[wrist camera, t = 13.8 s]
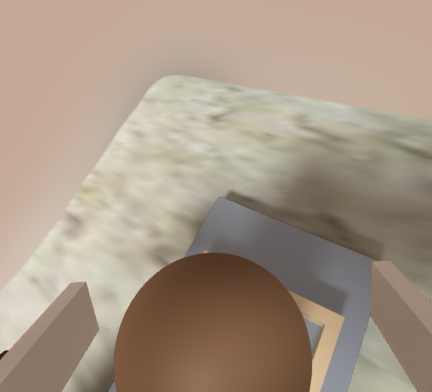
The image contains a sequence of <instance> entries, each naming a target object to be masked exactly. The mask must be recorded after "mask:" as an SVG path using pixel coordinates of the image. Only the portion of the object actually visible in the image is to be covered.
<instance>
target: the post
mask: <svg viewBox="0 0 432 392" xmlns="http://www.w3.org/2000/svg"><path fill="white" fill-rule="evenodd" d="M311 378H312V352H311V343H310V338H309V334H308V330H307V327H306V324H305V321H304V318H303V315H302V313H301V311H300V309H299V307H298V305H297V303H296V302H295V300H294V299H293V297H292V296H291V294H290V293H289V291H288V290H287V289H286V288H285V287H284V285H283V284H282V283H281V282H280V281H279V280H278V279H277V278H276V277H275V276H274V275H273V274H272V273H270V272H269V271H267V270H266V269H265V268H263V267H262V266H260V265H258V264H256V263H254V262H253V261H251V260H248V259H245V258H243V257H240V256H236V255H232V254H227V253H201V254H195V255H191V256H188V257H184V258H182V259H180V260H177V261H175V262H173V263H171V264H169V265H168V266H166V267H164V268H163V269H161V270H160V271H159V272H157V273H156V274H155V275H154V276H153V277H152V278H150V279H149V280H148V281H147V282H146V283H145V284H144V286H143V287H142V288H141V289H140V290H139V291H138V293H137V294H136V296H135V297H134V299H133V300H132V302H131V303H130V305H129V307H128V309H127V311H126V313H125V315H124V318H123V320H122V323H121V325H120V328H119V332H118V336H117V339H116V346H115V352H114V381H115V387H116V392H309V391H310V385H311Z"/></svg>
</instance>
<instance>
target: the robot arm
mask: <svg viewBox="0 0 432 392" xmlns="http://www.w3.org/2000/svg"><path fill="white" fill-rule="evenodd" d="M370 315H371V317H372V319H373V320H374V322H375V323H376V325H377V327H378V328H379V330H380V332H381V333H382V335H383V336H384V338H385V340H386V341H387V343H388V345H389V346H390V348H391V349H392V351H393V353H394V354H395V356H396V358H397V359H398V361H399V362H400V364H401V366H402V367H403V369H404V371H405V372H406V374H407V375H408V377H409V379H410V380H411V382H412V384H413V385H414V387H415V388H416V390H417V392H432V304H431V303H430V302H429V301H428V300H427V299H426V298H425V297H424V296H423V295H422V293H421V292H420V291H419V290H418V289H417V288H416V287H415V286H414V285H413V284H412V283H411V282H410V281H409V280H408V279H407V278H406V277H405V276H404V275H403V273H402V272H401V271H400V270H399V269H398V268H397V267H396V266H395V265H394V264H393V263H392V262H391V261H390V260H388V261H374V262H372V269H371V307H370ZM98 331H99V327H98V324H97V320H96V316H95V313H94V309H93V305H92V302H91V298H90V295H89V291H88V287H87V284H86V282H77V283H70V284H69V286H68V287H67V288H66V289H65V290H64V291H63V292H62V293H61V294H60V295H59V296H58V298H57V299H56V300H55V301H54V302H53V303H52V304H51V305H50V306H49V307H48V308H47V310H46V311H45V312H44V313H43V314H42V315H41V316H40V317H39V318H38V319H37V320H36V322H35V323H34V324H33V325H32V326H31V327H30V328H29V329H28V330H27V331H26V332H25V334H24V335H23V336H22V337H21V338H20V339H19V340H18V341H17V342H16V343H15V344H14V346H13V347H12V348H11V349H10V350H6V351H4V352H3V353H1V354H0V392H62V390H63V388H64V387H65V385H66V383H67V382H68V380H69V378H70V377H71V375H72V373H73V372H74V370H75V369H76V367H77V365H78V364H79V362H80V360H81V359H82V357H83V355H84V354H85V352H86V350H87V349H88V347H89V345H90V344H91V342H92V341H93V339H94V337H95V336H96V334H97V332H98Z"/></svg>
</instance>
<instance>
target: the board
mask: <svg viewBox="0 0 432 392" xmlns="http://www.w3.org/2000/svg"><path fill="white" fill-rule="evenodd" d="M201 253H227V254H232V255H236V256H240V257H243V258H245V259H248V260H251V261H253V262H254V263H256V264H258V265H260V266H262V267H263V268H265V269H266V270H267V271H269V272H270V273H272V274H273V275H274V276H275V277H276V278H277V279H278V280H279V281H280V282H281V283H282V284H283V285H284V287H285V288H286V289H287V290H288V291H289V293H290V294H291V296H292V297H293V299H294V300H295V302H296V303H297V305H298V307H299V309H300V311H301V313H302V315H303V318H304V321H305V324H306V327H307V330H308V334H309V338H310V343H311V352H312V378H311V385H310V391H309V392H347V390H348V387H349V384H350V381H351V377H352V374H353V371H354V367H355V364H356V361H357V357H358V354H359V351H360V347H361V344H362V341H363V337H364V334H365V331H366V327H367V324H368V321H369V317H370V307H371V269H372V262H374V261H377V260H374V259H372V258H369V257H367V256H364V255H362V254H359V253H357V252H355V251H352V250H350V249H347V248H345V247H342V246H340V245H337V244H335V243H332V242H330V241H328V240H325V239H323V238H320V237H318V236H315V235H313V234H310V233H308V232H306V231H303V230H301V229H298V228H296V227H293V226H291V225H288V224H286V223H283V222H281V221H279V220H276V219H274V218H271V217H269V216H266V215H264V214H261V213H259V212H256V211H254V210H252V209H249V208H247V207H244V206H242V205H239V204H237V203H234V202H232V201H229V200H227V199H225V198H222V197H220V196H219V197H218V199H217V201H216V202H215V204H214V206H213V208H212V209H211V211H210V213H209V215H208V216H207V218H206V220H205V222H204V224H203V225H202V227H201V229H200V231H199V232H198V234H197V236H196V238H195V239H194V241H193V243H192V245H191V246H190V248H189V250H188V252H187V253H186V255H185V257H188V256H191V255H195V254H201ZM108 392H116V387H115V381H114V382H113V384H112V386H111V387H110V389H109V391H108Z"/></svg>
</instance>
